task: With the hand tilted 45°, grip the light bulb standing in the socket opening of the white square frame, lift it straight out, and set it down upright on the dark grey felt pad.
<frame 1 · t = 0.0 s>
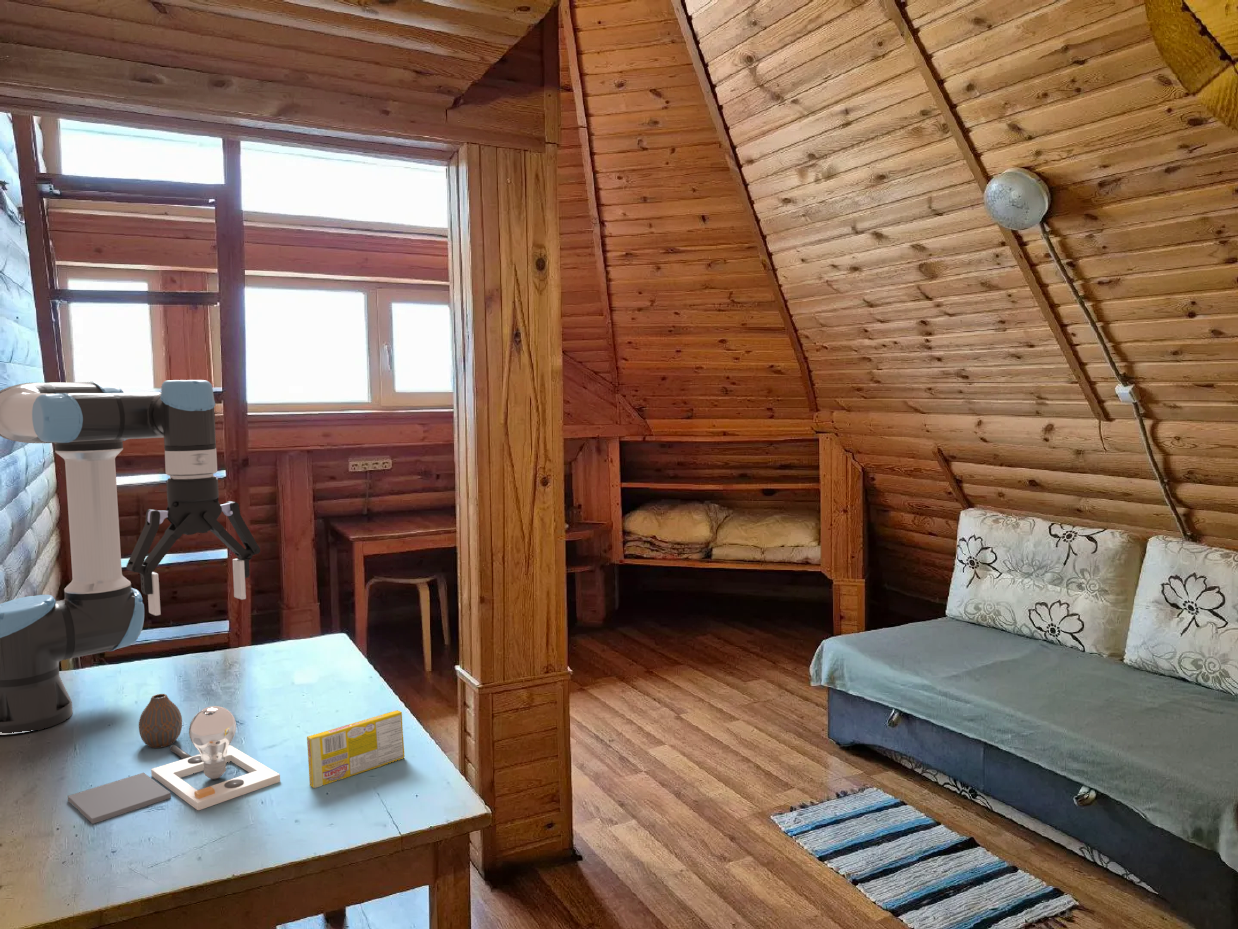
hand: (198, 605, 145), 28 cm above the table, tool pointing down, fingers open, 13 cm apart
white square frame: (215, 779, 145), on the table
vase: (161, 744, 159), on the table
felt pad: (119, 799, 138), on the table
light bulb: (215, 780, 145), resting in white square frame
candy box: (358, 773, 147), on the table
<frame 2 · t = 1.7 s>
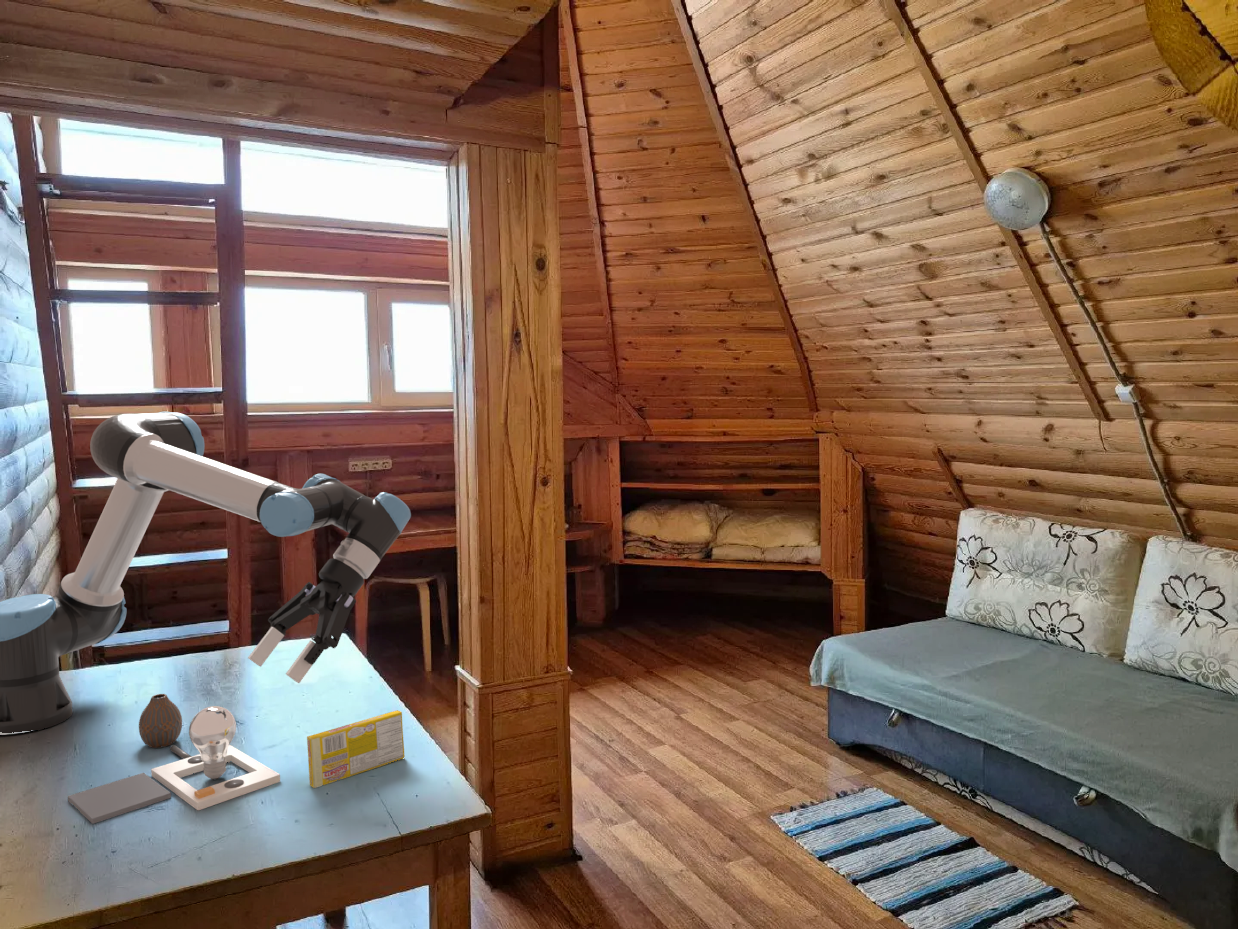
hand: (272, 670, 151), 16 cm above the table, tool tilted 45°, fingers open, 13 cm apart
nothing on the table moved.
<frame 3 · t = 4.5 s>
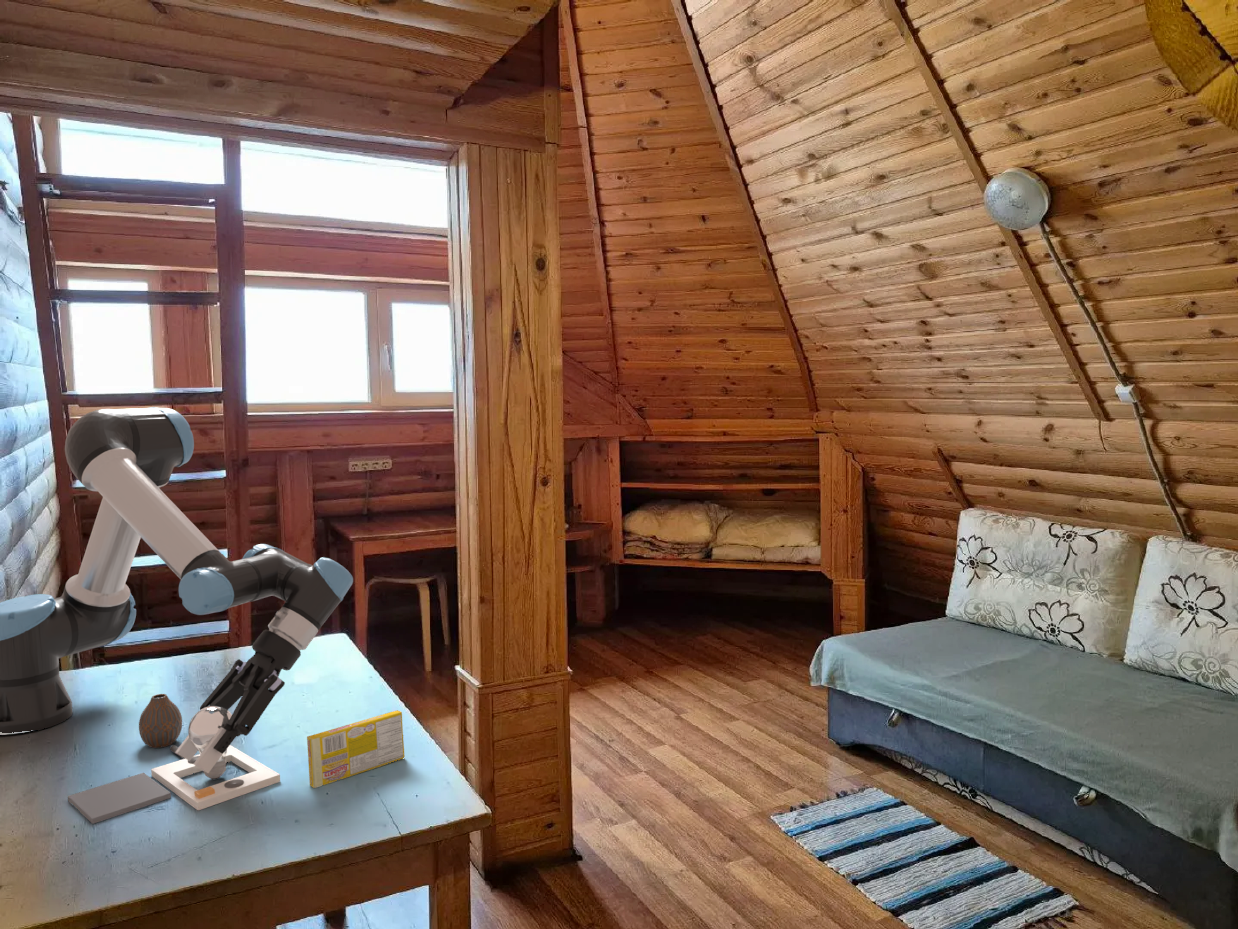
hand: (191, 762, 141), 4 cm above the table, tool tilted 45°, fingers closed on light bulb, 6 cm apart
light bulb: (215, 780, 145), resting in white square frame, touching gripper
everything else where it was.
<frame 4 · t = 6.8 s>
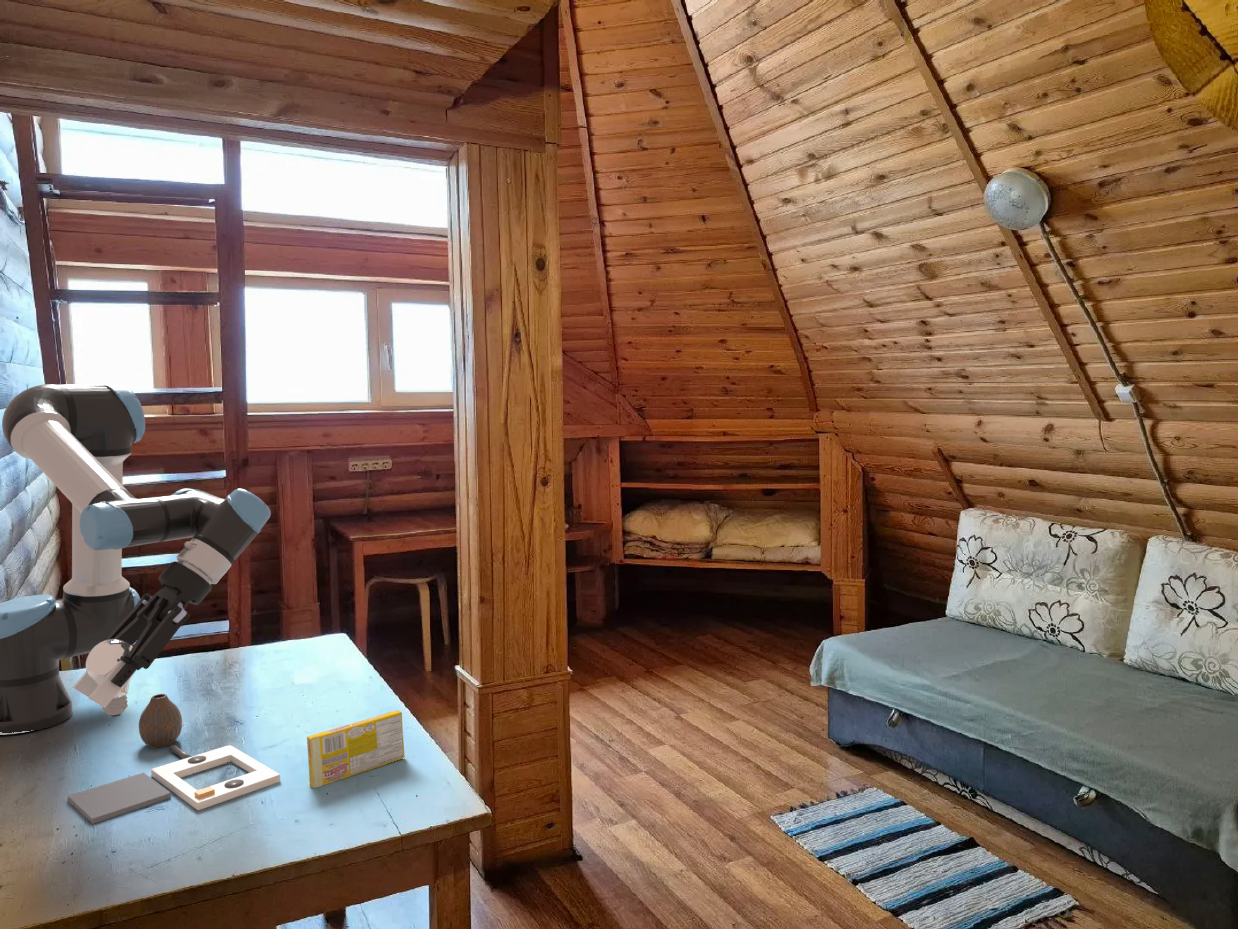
hand: (88, 697, 134), 17 cm above the table, tool tilted 45°, fingers closed on light bulb, 6 cm apart
light bulb: (116, 717, 137), point 13 cm above the table, touching gripper
everything else where it was.
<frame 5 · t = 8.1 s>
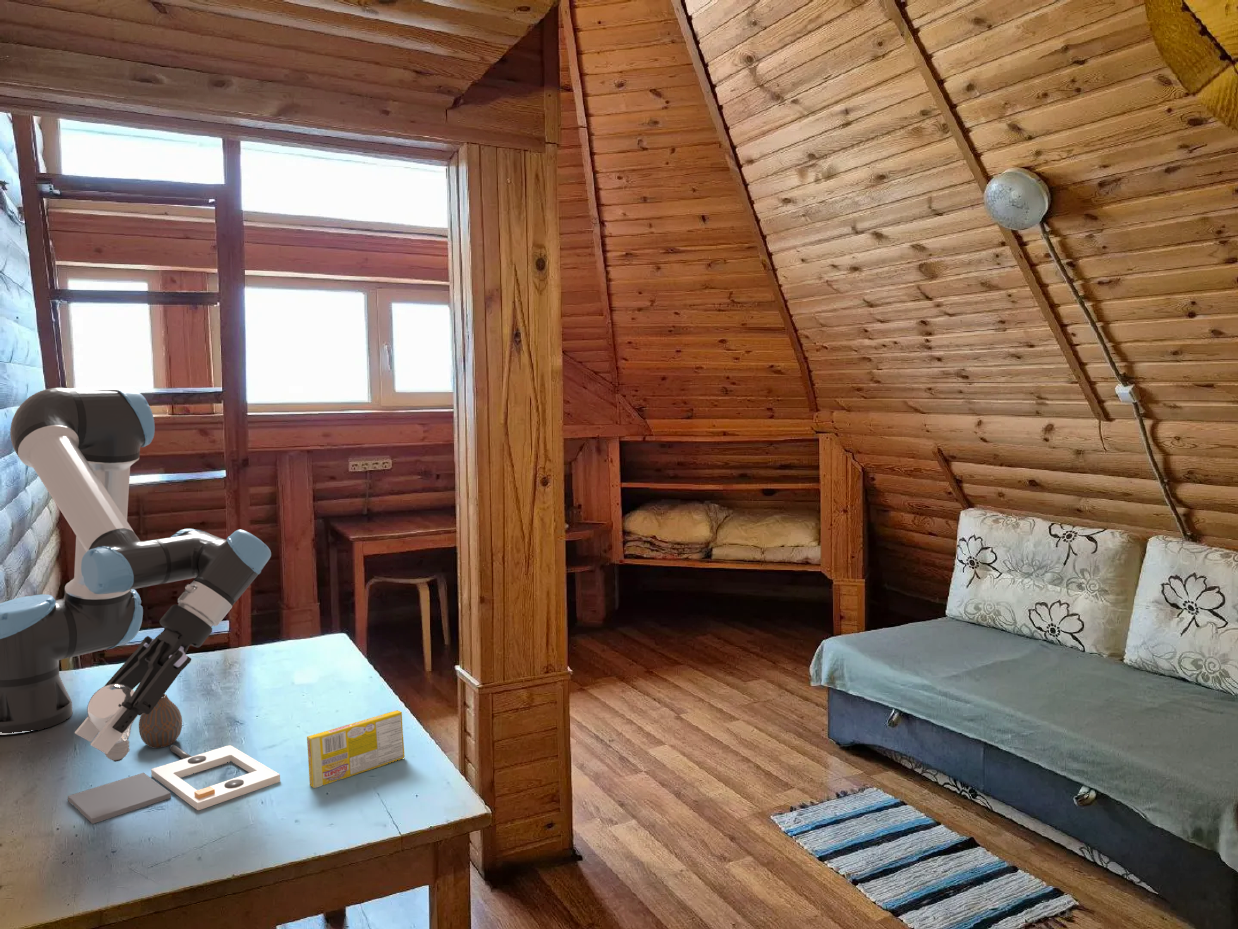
hand: (90, 743, 134), 10 cm above the table, tool tilted 45°, fingers closed on light bulb, 6 cm apart
light bulb: (118, 761, 137), point 6 cm above the table, touching gripper
everything else where it was.
when the fingers open (6 cm above the table, at t = 9.2 s): light bulb drops 1 cm, resting on felt pad.
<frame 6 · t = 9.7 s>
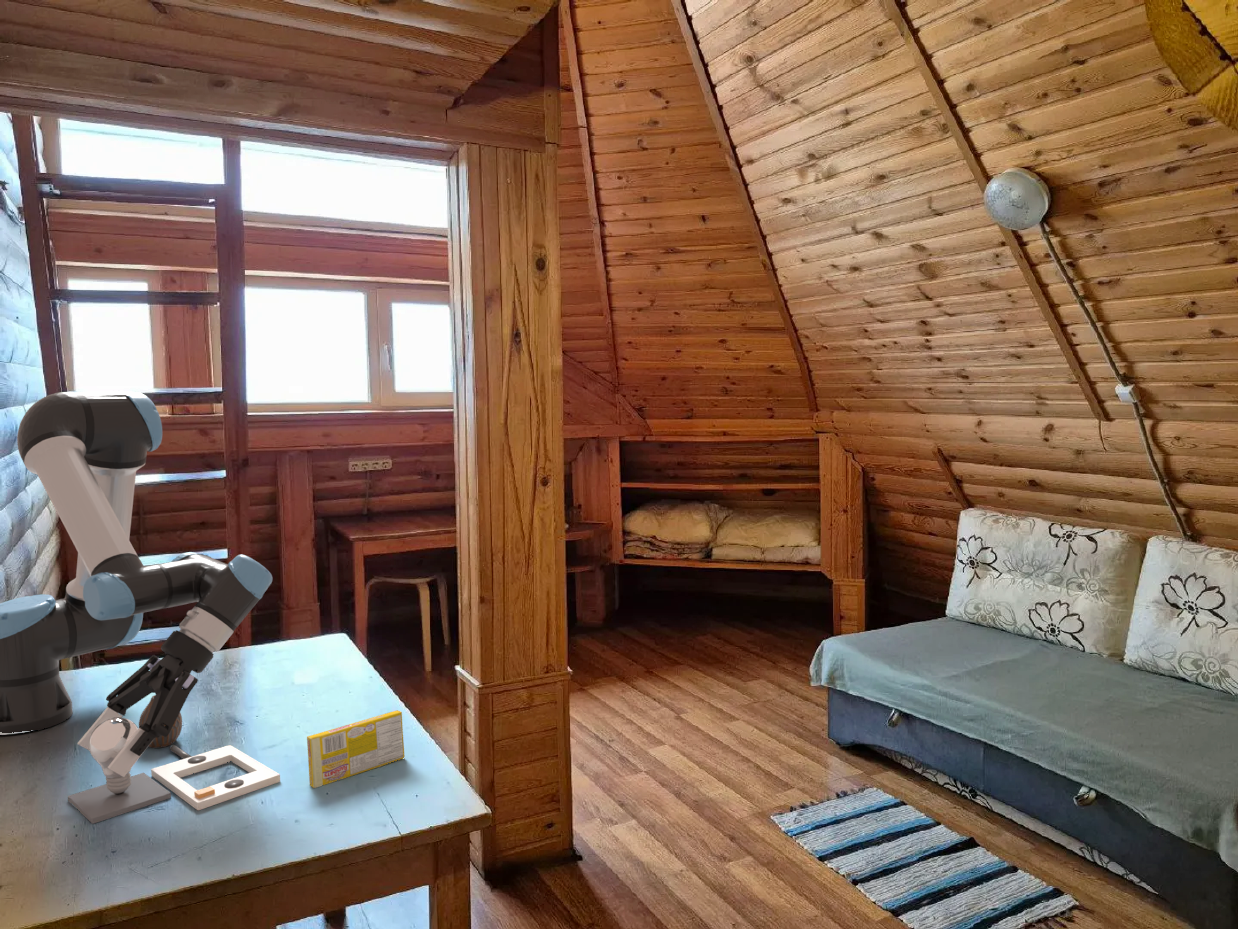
hand: (99, 760, 135), 7 cm above the table, tool tilted 45°, fingers open, 13 cm apart
light bulb: (120, 794, 138), point 1 cm above the table, touching felt pad
everything else where it was.
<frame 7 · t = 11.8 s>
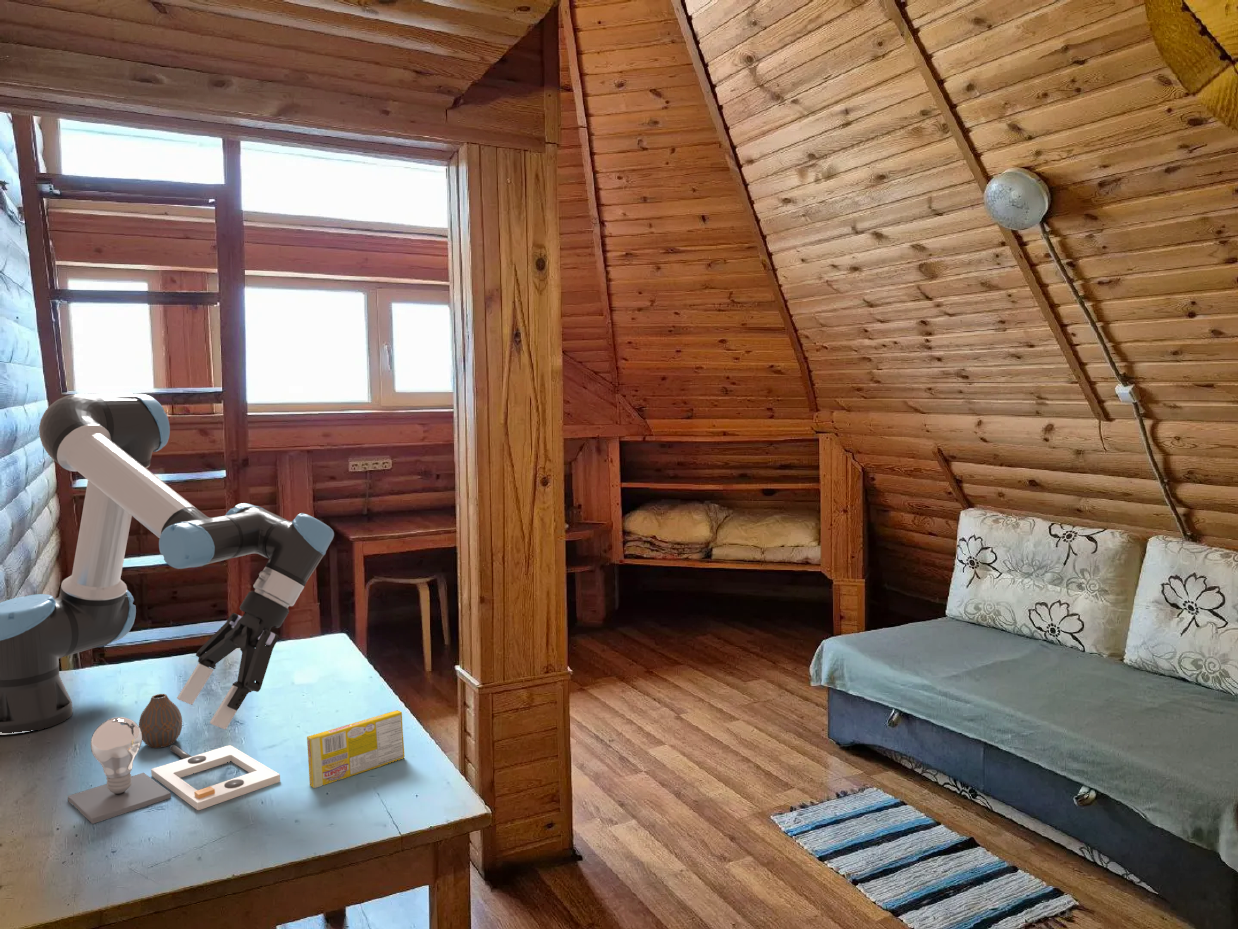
hand: (200, 713, 147), 10 cm above the table, tool tilted 35°, fingers open, 13 cm apart
nothing on the table moved.
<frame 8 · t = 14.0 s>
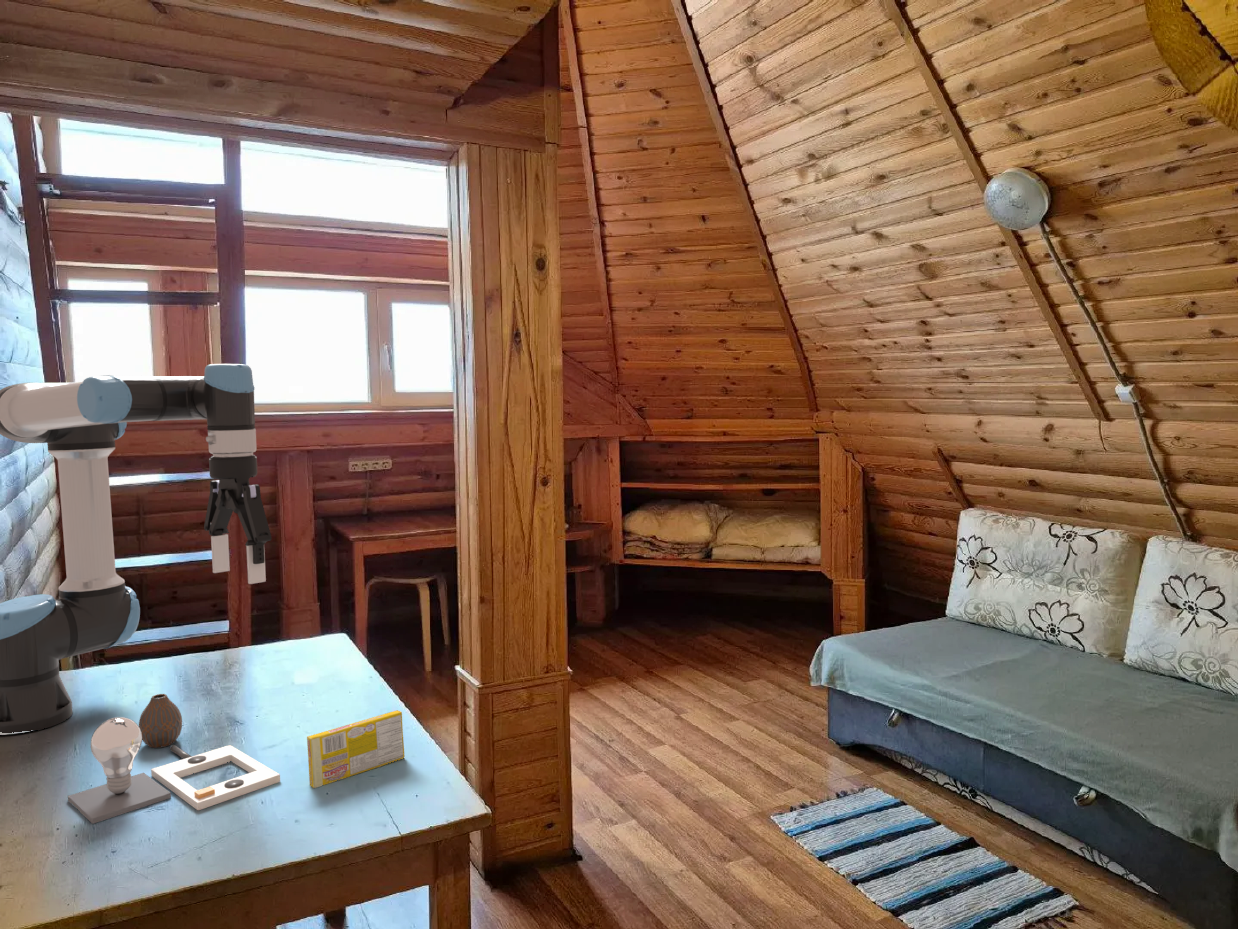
hand: (238, 577, 154), 31 cm above the table, tool pointing down, fingers open, 13 cm apart
nothing on the table moved.
at the end: light bulb inside the target area on the felt pad (0.3 cm from its centre), point 0.6 cm above the felt pad's base; light bulb tilted 0°; the gripper is holding nothing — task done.
